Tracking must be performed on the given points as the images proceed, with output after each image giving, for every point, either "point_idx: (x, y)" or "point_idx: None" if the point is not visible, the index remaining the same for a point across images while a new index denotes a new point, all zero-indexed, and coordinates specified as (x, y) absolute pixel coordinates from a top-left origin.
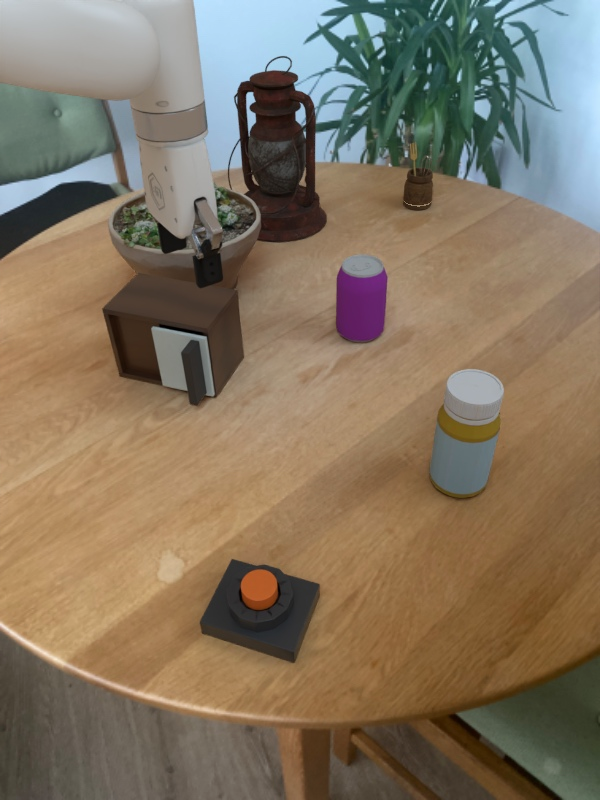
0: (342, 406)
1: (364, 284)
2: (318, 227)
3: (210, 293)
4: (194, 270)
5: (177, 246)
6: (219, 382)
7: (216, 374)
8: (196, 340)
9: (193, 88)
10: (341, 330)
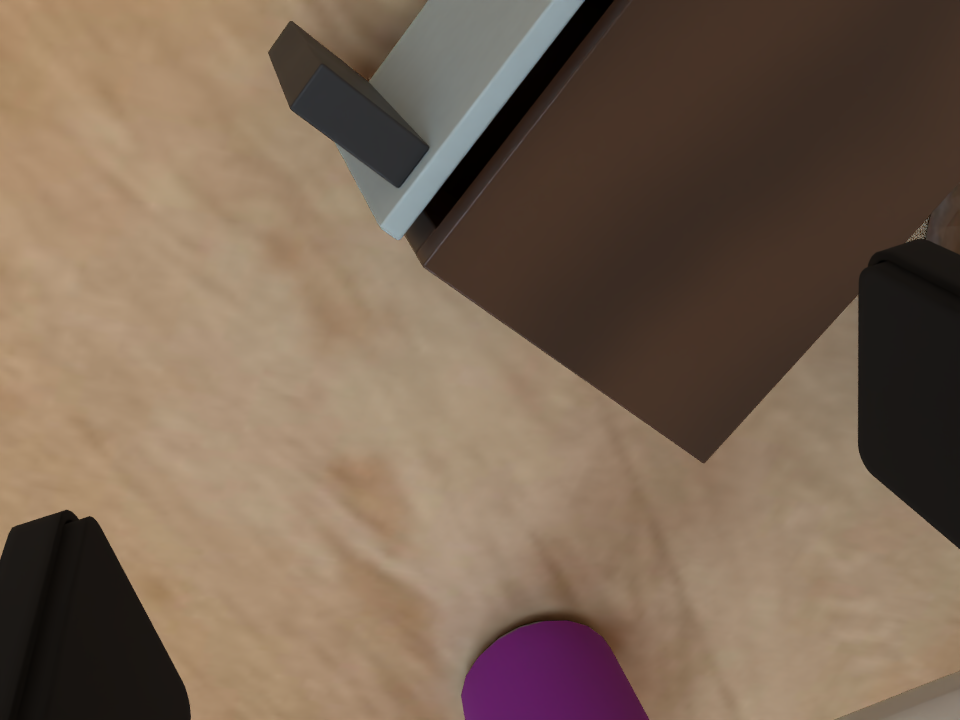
0: (162, 562)
1: None
2: None
3: (740, 335)
4: (18, 649)
5: (885, 405)
6: None
7: None
8: (408, 176)
9: None
10: (525, 643)
